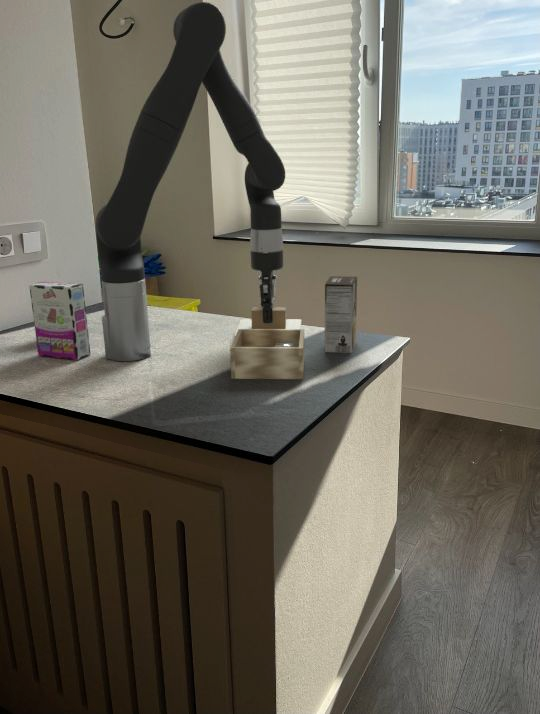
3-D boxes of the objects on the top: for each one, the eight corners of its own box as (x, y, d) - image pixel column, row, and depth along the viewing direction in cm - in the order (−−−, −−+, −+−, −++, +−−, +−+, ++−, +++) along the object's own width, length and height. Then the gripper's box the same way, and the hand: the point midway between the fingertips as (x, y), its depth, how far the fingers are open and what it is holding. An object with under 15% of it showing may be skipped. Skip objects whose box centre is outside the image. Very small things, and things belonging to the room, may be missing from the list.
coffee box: (328, 343, 150) (329, 275, 145) (356, 344, 149) (357, 276, 144) (323, 355, 141) (324, 283, 136) (353, 356, 140) (354, 284, 135)
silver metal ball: (274, 365, 132) (274, 347, 131) (275, 359, 136) (275, 341, 135) (294, 365, 132) (294, 347, 131) (294, 359, 136) (294, 341, 135)
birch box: (231, 382, 126) (230, 348, 124) (239, 360, 139) (238, 329, 137) (303, 382, 125) (302, 348, 123) (304, 360, 138) (304, 329, 136)
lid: (234, 339, 148) (233, 316, 146) (241, 323, 162) (240, 301, 160) (299, 339, 146) (299, 316, 145) (301, 323, 161) (301, 301, 159)
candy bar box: (92, 354, 145) (84, 283, 140) (77, 361, 140) (69, 287, 135) (52, 350, 149) (43, 280, 144) (37, 356, 144) (27, 284, 140)
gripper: (253, 244, 155) (255, 313, 160) (247, 253, 142) (249, 328, 147) (284, 243, 155) (285, 313, 160) (281, 252, 141) (282, 328, 146)
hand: (268, 320), depth 153 cm, fingers closed on lid, 3 cm apart
